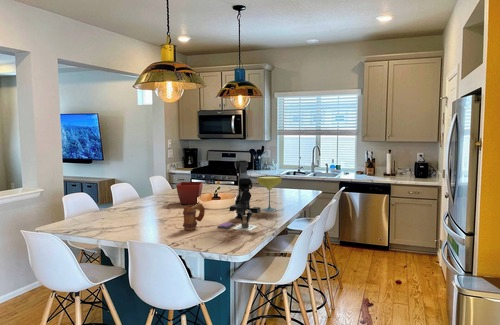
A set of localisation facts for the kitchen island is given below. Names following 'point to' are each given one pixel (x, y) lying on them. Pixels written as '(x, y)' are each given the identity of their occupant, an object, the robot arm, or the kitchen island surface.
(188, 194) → the plant pot
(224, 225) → the ink pad
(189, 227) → the mug
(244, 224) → the stamp
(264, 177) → the cocktail glass
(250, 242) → the kitchen island surface
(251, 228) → the sheet
